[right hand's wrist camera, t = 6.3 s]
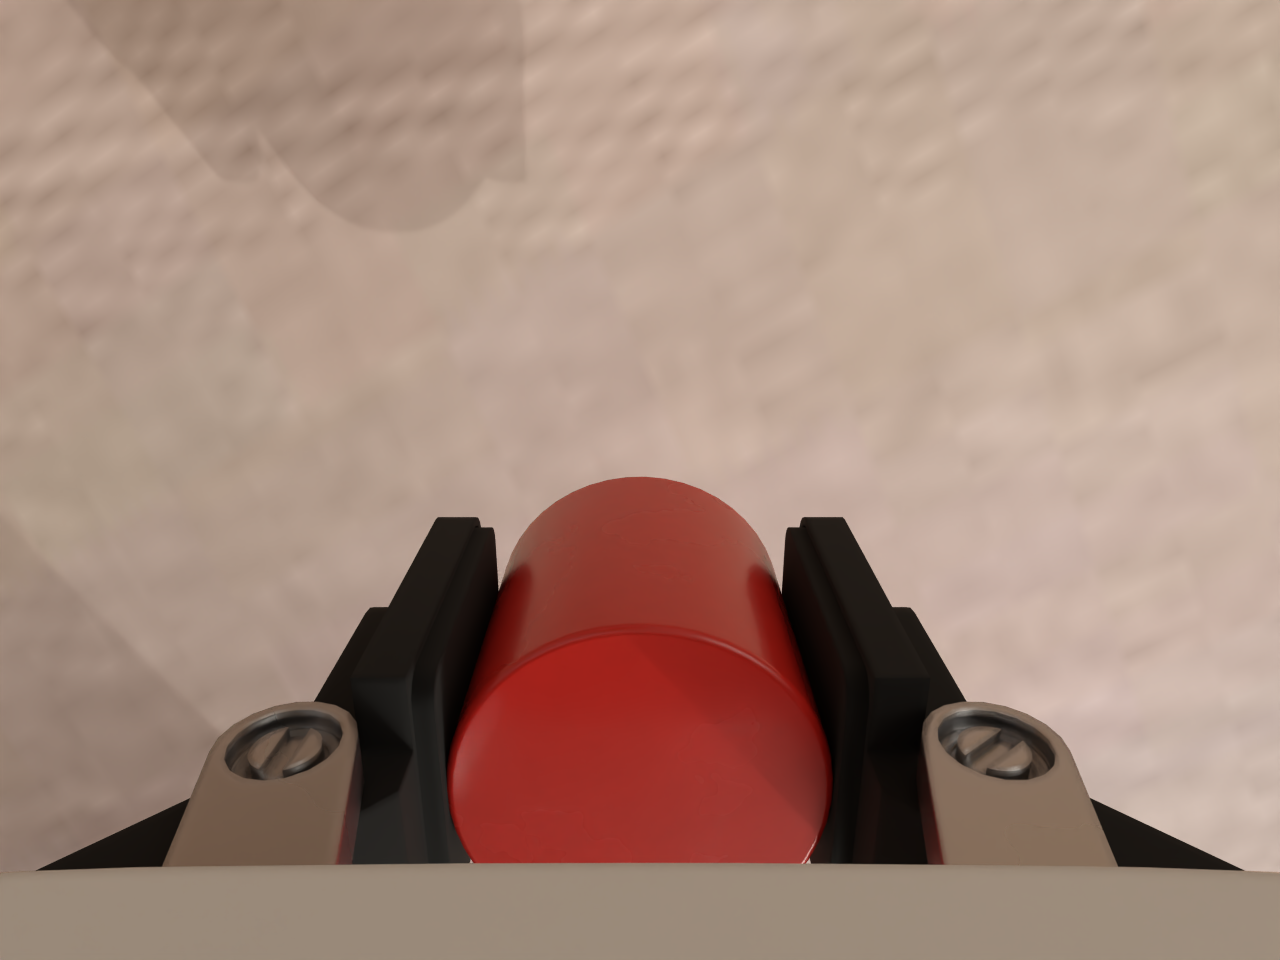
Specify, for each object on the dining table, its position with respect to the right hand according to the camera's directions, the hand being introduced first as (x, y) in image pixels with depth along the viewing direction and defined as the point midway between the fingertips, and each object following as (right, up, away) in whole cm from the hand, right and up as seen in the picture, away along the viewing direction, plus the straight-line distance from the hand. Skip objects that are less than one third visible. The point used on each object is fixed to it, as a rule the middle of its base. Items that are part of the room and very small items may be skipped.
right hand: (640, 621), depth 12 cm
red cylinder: (0, 0, 0) cm, 0 cm away
